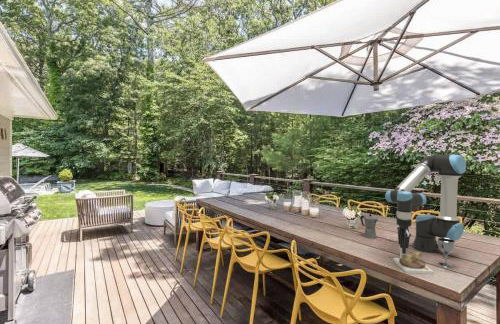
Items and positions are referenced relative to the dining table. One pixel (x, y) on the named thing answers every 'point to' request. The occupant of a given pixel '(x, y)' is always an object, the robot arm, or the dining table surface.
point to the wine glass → (446, 249)
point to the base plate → (414, 270)
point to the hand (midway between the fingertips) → (403, 258)
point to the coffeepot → (369, 226)
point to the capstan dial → (412, 260)
